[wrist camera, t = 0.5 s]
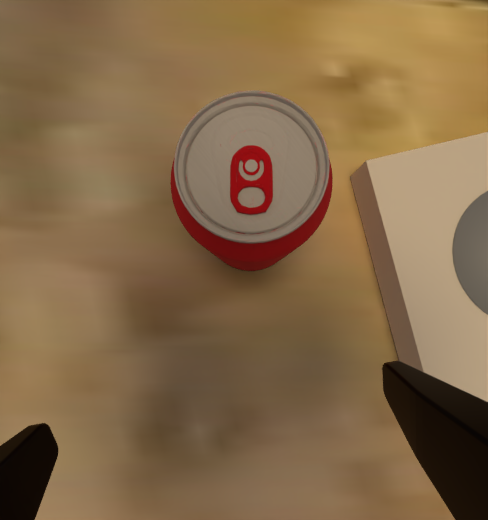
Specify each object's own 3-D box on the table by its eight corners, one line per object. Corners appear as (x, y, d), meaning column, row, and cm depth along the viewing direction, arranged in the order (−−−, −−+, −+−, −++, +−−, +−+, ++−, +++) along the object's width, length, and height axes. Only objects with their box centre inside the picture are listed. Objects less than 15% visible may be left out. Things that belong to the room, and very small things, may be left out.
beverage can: (292, 186, 22) (345, 73, 10) (293, 270, 22) (350, 258, 10) (207, 187, 22) (159, 75, 10) (207, 271, 22) (155, 259, 10)
